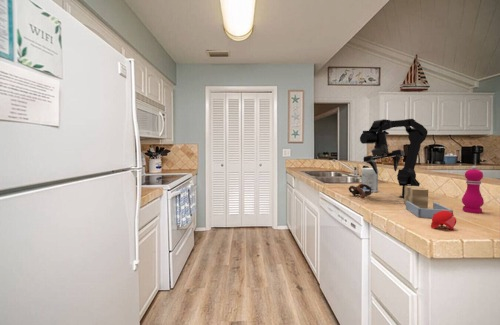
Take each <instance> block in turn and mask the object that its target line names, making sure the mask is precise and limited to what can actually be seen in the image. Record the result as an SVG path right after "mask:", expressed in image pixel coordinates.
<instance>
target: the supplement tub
mask: <svg viewBox="0 0 500 325" xmlns="http://www.w3.org/2000/svg"><path fill="white" fill-rule="evenodd" d="M377 171H378V172H379V169H378V168H377ZM361 184H365V185H368V186H369V187H370V188H371V189H372V190H371V193H377V192H378V191H379V173H378V174H376V173H375V171H374V169H373V168H372V167H362V168H361ZM361 189H363V192H365V191H370V190H369V189H366V187H364V188H361Z"/></svg>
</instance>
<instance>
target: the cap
mask: <svg viewBox="0 0 500 325" xmlns="http://www.w3.org/2000/svg"><path fill="white" fill-rule="evenodd" d="M433 215H434V216H433V217H432V218H431V223H430V228H431V229H436V228H438V227H440V226H441V227H443V226H444V225H445V227H446V228H448V229H449V230H450V231H453V229H454V227H455V226H456V224H457V218H456V217H455V215H454V212H453V213H452V212H450V211H446V210H444V211H439V212H437V213H436V214H433Z"/></svg>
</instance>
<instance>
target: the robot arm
mask: <svg viewBox="0 0 500 325" xmlns="http://www.w3.org/2000/svg"><path fill="white" fill-rule="evenodd" d="M401 127H403V128H404V129H405V132H406V133H407V134H408V140H409V145H408V151H407V153H406V154H405V151H404V150H402V149H395V150H391V152H390V151H389V144H388V141H387V135H389V134H390V133H389V132H388V131H387V130H390V129H392V128H393V129H394V128H401ZM427 136H428V130H427V128H426V127H424V125H422V124H421V123H419V122H417V121H416V120H415V119H414V118H407V119H399V120H398V119H397V120H390V119H386V118H385V119H384V118H383V119H377V120H373V122H372V124H371V126H370V128H369V129H368V130H363V131H362V134H360V137H359V141H360V143H361V144H364V145H370V144H371V145H372V144H374V148H373V149H371V154H372V155H366V156H364V157H363V159H362V160H363V163H367V164H369V165H370V166H371V168H373V169H374V171H375V173H376V174H378V175H379V170H378V171H377V169H378V165H377V161H376V160H381V159H386V158H392V162H393V169H394V172H397V175H396V179H397V181H398V185H399V186H400V187H401V188H402V189H401V190H402V191H401V195H399V197H400V198H403V199H404V188H405V186H419V187H420V182H419V181H418V179H416V178H417V173H416V170H415V168H416V164H417V161H418V160H417V159H418V156H419V153H420V152H419V151H420V147H421V145H422V143H424V141H425V140H426V139H427ZM405 155H406V158H405V160H404V161H405V162H404V165H403V168H402V169H398V166H399V163H400V161H401V159H403V157H405ZM397 170H398V171H397Z"/></svg>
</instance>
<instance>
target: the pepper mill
mask: <svg viewBox="0 0 500 325" xmlns="http://www.w3.org/2000/svg"><path fill="white" fill-rule="evenodd" d="M477 167H478V166H476V165H473V166H471V169H468V170H466V171H465V173H464V177H465V184H466V190H465V192H464V193H463V195H462V198H461V203H462V204H463V206H462V211H463V212H466V213H471V214H481V213H483V209H482V208H481V207H483V206H484V204H485V201H484V198H483V195H482V193H481V190H480V186H481V184H482V181H481V180H482V179H483V178H484V173H483V172H482V171H481V170H479V169H478V168H477Z"/></svg>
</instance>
